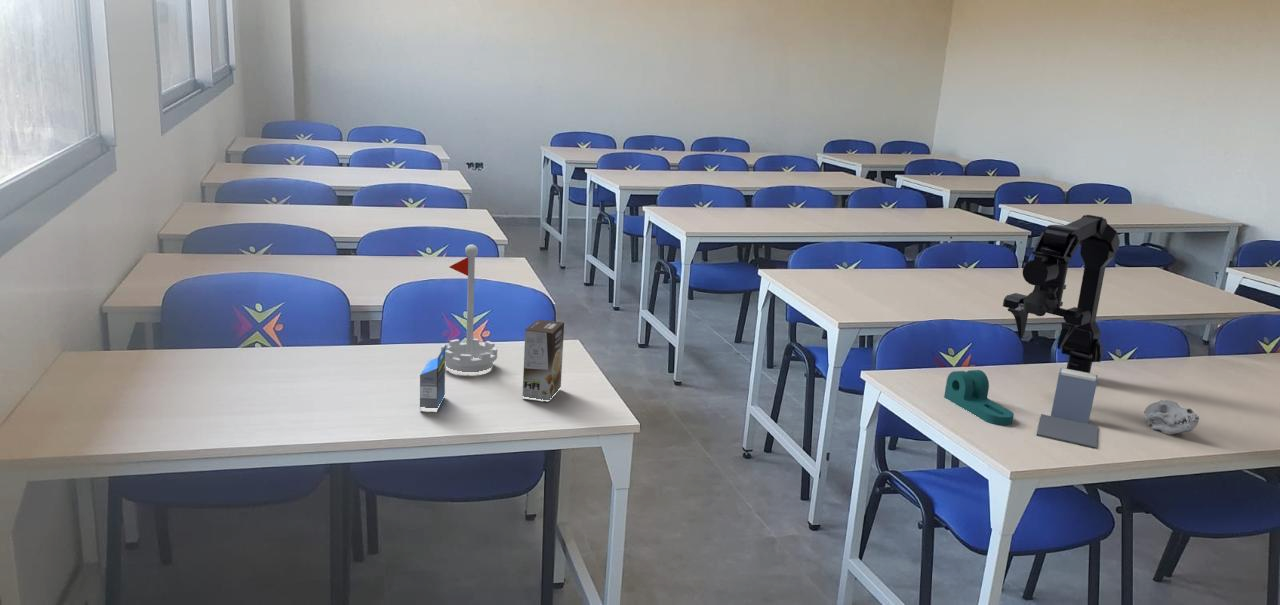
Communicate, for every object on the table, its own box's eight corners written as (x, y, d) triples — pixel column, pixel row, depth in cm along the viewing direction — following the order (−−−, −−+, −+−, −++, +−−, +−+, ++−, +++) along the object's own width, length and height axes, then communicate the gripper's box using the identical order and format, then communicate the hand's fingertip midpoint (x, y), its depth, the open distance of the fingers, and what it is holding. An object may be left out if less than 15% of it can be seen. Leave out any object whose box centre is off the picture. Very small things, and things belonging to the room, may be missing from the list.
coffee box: (549, 403, 203) (552, 333, 199) (521, 399, 204) (524, 329, 200) (561, 389, 212) (564, 321, 208) (534, 385, 213) (537, 318, 209)
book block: (1051, 412, 220) (1060, 367, 217) (1088, 419, 216) (1098, 374, 213) (1050, 416, 216) (1059, 371, 214) (1088, 424, 213) (1097, 379, 210)
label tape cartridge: (427, 396, 202) (428, 342, 199) (445, 397, 202) (446, 343, 199) (419, 412, 194) (419, 355, 190) (437, 413, 194) (438, 357, 191)
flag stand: (488, 357, 230) (492, 238, 222) (503, 375, 218) (507, 250, 210) (435, 361, 224) (437, 239, 216) (447, 379, 213) (449, 251, 205)
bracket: (943, 398, 224) (948, 367, 222) (967, 396, 227) (972, 366, 225) (994, 427, 208) (1000, 394, 206) (1018, 425, 210) (1024, 392, 208)
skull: (1158, 407, 220) (1198, 388, 210) (1171, 444, 216) (1212, 426, 206) (1131, 407, 217) (1171, 387, 207) (1144, 443, 213) (1185, 425, 203)
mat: (1040, 415, 217) (1041, 413, 217) (1097, 427, 212) (1097, 425, 212) (1036, 435, 205) (1036, 433, 204) (1096, 448, 200) (1096, 447, 199)
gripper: (997, 275, 219) (986, 338, 223) (1078, 293, 206) (1064, 360, 210) (1019, 270, 226) (1008, 331, 230) (1097, 287, 213) (1084, 352, 218)
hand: (1039, 343), depth 222 cm, fingers open, 9 cm apart
